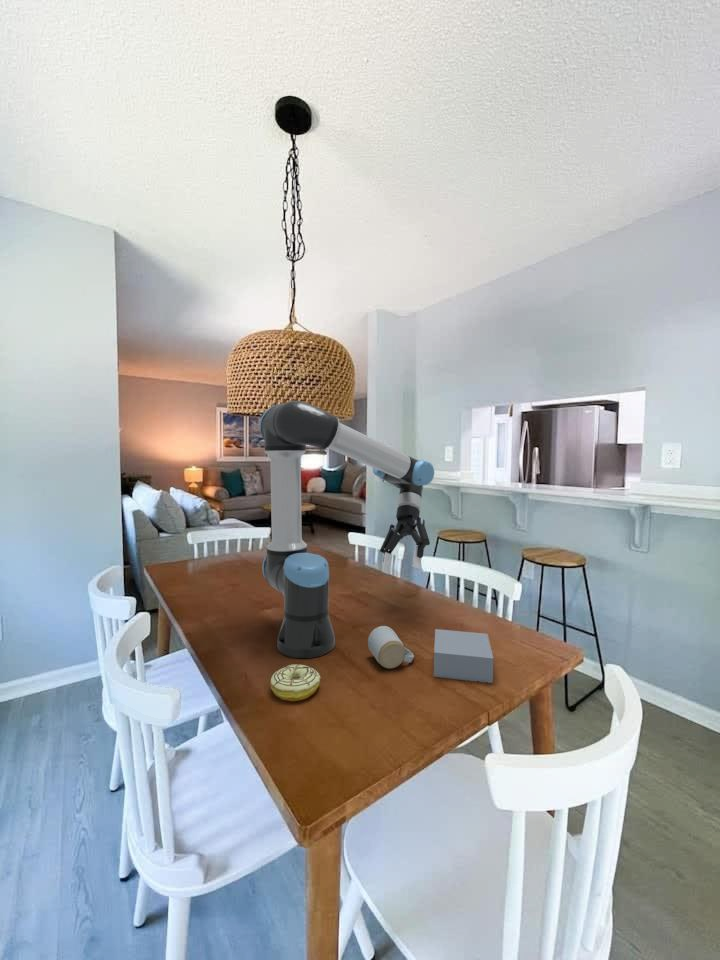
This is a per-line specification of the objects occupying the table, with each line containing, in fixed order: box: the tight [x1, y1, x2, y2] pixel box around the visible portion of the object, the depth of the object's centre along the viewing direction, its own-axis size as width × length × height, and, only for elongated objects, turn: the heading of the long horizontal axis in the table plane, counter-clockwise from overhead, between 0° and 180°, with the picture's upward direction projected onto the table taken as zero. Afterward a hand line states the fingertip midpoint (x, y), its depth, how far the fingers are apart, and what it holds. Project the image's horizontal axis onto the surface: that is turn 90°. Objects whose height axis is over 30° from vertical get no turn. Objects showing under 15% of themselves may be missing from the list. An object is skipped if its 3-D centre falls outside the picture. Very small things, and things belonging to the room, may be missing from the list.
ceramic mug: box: [367, 625, 415, 669], centre depth 101 cm, size 11×8×8 cm
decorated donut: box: [270, 663, 321, 702], centre depth 89 cm, size 10×11×4 cm
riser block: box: [433, 628, 495, 684], centre depth 100 cm, size 13×13×6 cm
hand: (400, 570), depth 127 cm, fingers open, 13 cm apart
